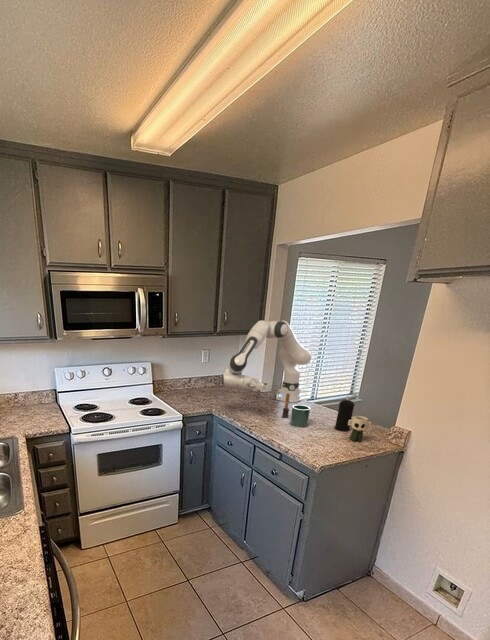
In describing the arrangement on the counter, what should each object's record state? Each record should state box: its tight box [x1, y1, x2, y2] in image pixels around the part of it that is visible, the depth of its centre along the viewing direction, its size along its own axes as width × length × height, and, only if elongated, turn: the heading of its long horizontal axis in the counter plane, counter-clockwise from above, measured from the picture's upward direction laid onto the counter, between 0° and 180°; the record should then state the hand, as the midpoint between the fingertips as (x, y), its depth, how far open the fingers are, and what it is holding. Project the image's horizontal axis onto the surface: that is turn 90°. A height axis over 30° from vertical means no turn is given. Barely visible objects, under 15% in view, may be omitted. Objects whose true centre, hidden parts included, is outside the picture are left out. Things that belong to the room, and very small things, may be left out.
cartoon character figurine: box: [348, 415, 372, 442], centre depth 196 cm, size 11×7×13 cm, turn 70°
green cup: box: [289, 404, 311, 428], centre depth 219 cm, size 10×10×11 cm
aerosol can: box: [334, 395, 356, 432], centre depth 210 cm, size 8×8×20 cm
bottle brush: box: [282, 393, 290, 419], centre depth 231 cm, size 4×4×16 cm
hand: (268, 385), depth 227 cm, fingers open, 8 cm apart
